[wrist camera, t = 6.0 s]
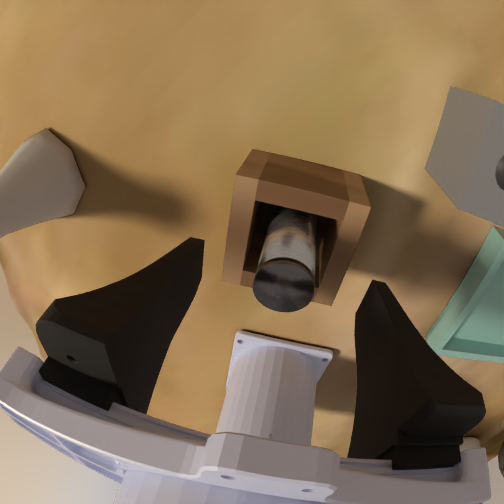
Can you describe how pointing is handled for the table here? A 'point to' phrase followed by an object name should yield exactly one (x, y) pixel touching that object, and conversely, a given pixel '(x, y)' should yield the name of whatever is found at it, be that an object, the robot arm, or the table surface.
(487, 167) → the gray block
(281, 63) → the table surface
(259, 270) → the cylinder
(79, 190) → the flask
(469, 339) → the teal tray
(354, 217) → the walnut block
